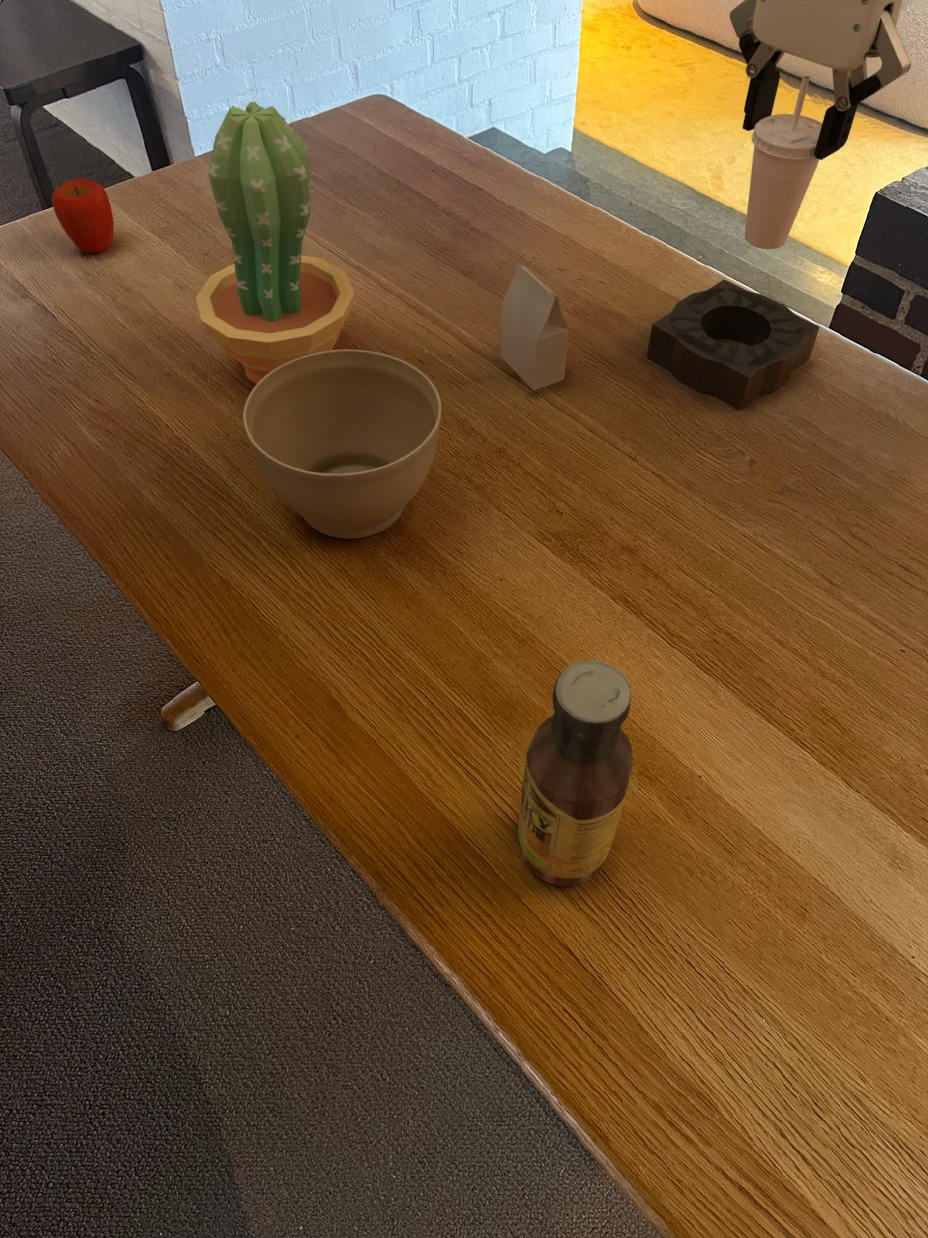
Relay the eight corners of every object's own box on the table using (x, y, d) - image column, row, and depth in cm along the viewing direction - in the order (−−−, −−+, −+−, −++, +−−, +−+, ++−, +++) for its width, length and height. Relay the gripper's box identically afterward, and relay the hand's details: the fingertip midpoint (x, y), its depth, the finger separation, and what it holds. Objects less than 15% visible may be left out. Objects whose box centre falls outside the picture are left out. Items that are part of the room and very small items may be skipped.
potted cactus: (388, 343, 102) (370, 96, 82) (308, 428, 93) (267, 174, 74) (267, 305, 106) (223, 62, 87) (181, 383, 98) (110, 132, 78)
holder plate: (715, 306, 106) (723, 273, 103) (818, 359, 100) (829, 326, 97) (637, 356, 100) (642, 323, 97) (741, 416, 94) (750, 383, 91)
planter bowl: (382, 595, 80) (372, 501, 71) (228, 527, 85) (201, 431, 76) (475, 479, 89) (476, 383, 80) (330, 424, 94) (317, 327, 85)
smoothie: (725, 250, 86) (762, 86, 75) (734, 215, 90) (770, 54, 79) (797, 262, 85) (846, 96, 74) (803, 225, 89) (850, 63, 78)
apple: (64, 240, 115) (42, 178, 109) (115, 228, 117) (97, 167, 111) (74, 266, 111) (52, 203, 106) (127, 254, 113) (108, 192, 107)
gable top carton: (533, 390, 97) (539, 303, 89) (499, 355, 100) (502, 268, 93) (564, 379, 98) (572, 292, 90) (529, 345, 102) (534, 258, 94)
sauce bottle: (512, 810, 67) (526, 637, 52) (600, 805, 68) (640, 630, 52) (522, 898, 63) (539, 738, 48) (615, 892, 64) (664, 731, 48)
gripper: (1001, -108, 64) (906, 159, 78) (784, -157, 72) (733, 93, 86) (944, -83, 61) (856, 191, 75) (723, -137, 69) (681, 120, 83)
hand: (791, 137), depth 81 cm, fingers closed on smoothie, 6 cm apart
